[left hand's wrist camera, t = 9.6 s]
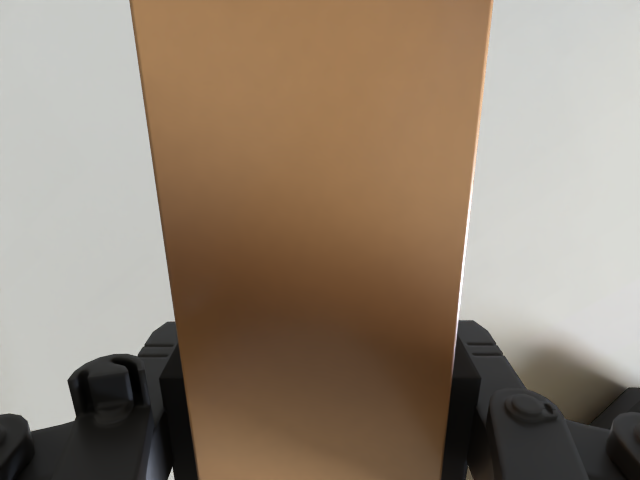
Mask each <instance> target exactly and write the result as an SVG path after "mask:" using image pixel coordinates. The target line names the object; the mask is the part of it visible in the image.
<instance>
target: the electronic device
mask: <svg viewBox="0 0 640 480" xmlns="http://www.w3.org/2000/svg"><path fill="white" fill-rule="evenodd" d="M628 412H637V413H640V388H628V389H627V390H626V391H625V392H624V393H623V394H621V395H620V396H619V397H618V398H617V399H616V400H615V401H614V402H613V403H612V404H611V405H610V406H609V407H608V408H607V409H606V410H605V411H604V412H602V413H601V414H600V415H599V416H598V417H597V418H596V419H595V420H594V421H593V422H592V423H591V424H590V425H591V426H595V427H599V428H604V429H608V430H611V426H612V423H613V419H615V418H616V417H617V416H618V415H619V414H622V413H628Z"/></svg>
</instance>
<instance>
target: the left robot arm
mask: <svg viewBox="0 0 640 480" xmlns="http://www.w3.org/2000/svg"><path fill="white" fill-rule="evenodd" d="M67 381H68V385H69V389H70V393H71V397H72V401H73V405H74V409H75V413H76V419H75V421H72V422H69V423H66V424H62V425H58V426H53V427H49V428H45V429H40V430H36V431H31V432H30V428H29V425H28V422H27V420H25V419H24V418H23V417H22V416H20V415H15V414H2V415H0V480H168V477H169V474H170V472H171V469H172V466H173V472H174V479H175V480H198V476H197V469H196V462H195V455H194V448H193V441H192V434H191V427H190V420H189V413H188V406H187V399H186V392H185V385H184V378H183V371H182V364H181V357H180V350H179V343H178V336H177V330H176V323H175V322H166V323H165V324H164V325H162V326H161V327H159V328H158V329H157V330H155V331H154V332H153V333H152V334H151V336H150V337H149V339H148V340H147V342H146V343H145V346H144V347H143V348H142V349H141V351H140V352H139V354H138V357H137V356H133V355H130V354H113V355H108V356H104V357H100V358H97V359H95V360H93V361H90V362H88V363H86V364H84V365H83V366H81V367H80V368H79V369H77V370H76V371H74V373H73V374H72V375H71V376H70V378H69V379H68V380H67ZM468 466H469V469H470V471H471V474H472V477H473V479H474V480H640V413H637V412H628V413H622V414H619V415H618V416H617V417H616V418H615V419H613V423H612V426H611V430H608V429H604V428H599V427H595V426H591V425H586V424H582V423H577V422H574V421H571V420H567V419H565V418H564V416H563V414H562V413H561V411H560V410H559V408H558V407H557V406H556V405H555V404H554V403H552V402H551V401H550V400H549V399H547V398H546V397H544V396H542V395H540V394H538V393H535V392H533V391H530V390H527V389H526V387H525V386H524V384H523V383H522V381H521V380H520V378H519V377H518V375H517V374H516V372H515V371H514V369H513V368H512V366H511V365H510V363H509V362H508V360H507V359H506V357H505V356H503V353H502V351H501V350H500V348H499V347H498V346H496V342H495V341H494V339H493V338H492V336H491V335H490V333H489V332H488V331H487V330H486V329H484V328H483V327H482V326H480V325H479V324H477V323H476V322H475V321H473V320H458V328H457V338H456V347H455V356H454V365H453V374H452V383H451V393H450V402H449V411H448V420H447V429H446V438H445V447H444V457H443V466H442V475H441V480H466V474H467V468H468Z"/></svg>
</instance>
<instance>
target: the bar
mask: <svg viewBox="0 0 640 480" xmlns="http://www.w3.org/2000/svg"><path fill="white" fill-rule="evenodd" d="M129 1H130V8H131V15H132V22H133V29H134V36H135V43H136V50H137V57H138V64H139V71H140V78H141V85H142V92H143V99H144V106H145V113H146V120H147V127H148V134H149V141H150V148H151V155H152V162H153V169H154V176H155V183H156V190H157V197H158V204H159V211H160V218H161V225H162V232H163V239H164V246H165V253H166V260H167V267H168V274H169V281H170V288H171V295H172V302H173V309H174V316H175V323H176V330H177V336H178V343H179V350H180V357H181V364H182V371H183V378H184V385H185V392H186V399H187V406H188V413H189V420H190V427H191V434H192V441H193V448H194V455H195V462H196V469H197V476H198V480H441V475H442V466H443V457H444V447H445V438H446V429H447V420H448V411H449V402H450V393H451V383H452V374H453V365H454V356H455V347H456V338H457V328H458V319H459V310H460V301H461V292H462V283H463V274H464V264H465V255H466V246H467V237H468V228H469V219H470V209H471V200H472V191H473V182H474V173H475V164H476V155H477V145H478V136H479V127H480V118H481V109H482V100H483V90H484V81H485V72H486V63H487V54H488V45H489V36H490V26H491V17H492V8H493V0H129Z"/></svg>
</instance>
